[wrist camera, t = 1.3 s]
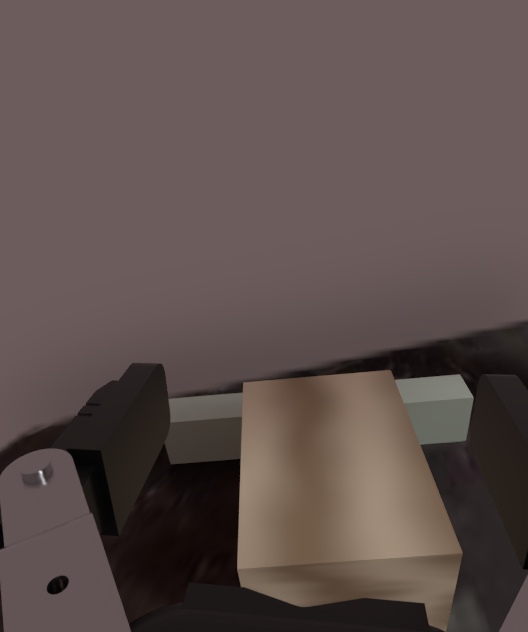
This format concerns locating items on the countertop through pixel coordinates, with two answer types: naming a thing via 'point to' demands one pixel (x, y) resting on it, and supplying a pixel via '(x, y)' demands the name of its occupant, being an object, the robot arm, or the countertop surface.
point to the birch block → (340, 497)
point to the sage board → (226, 419)
